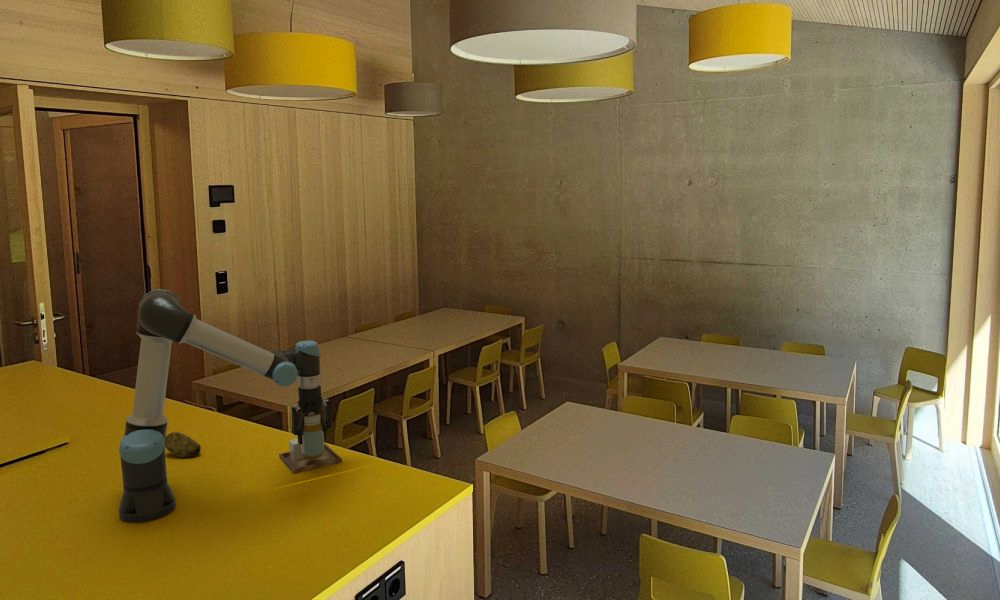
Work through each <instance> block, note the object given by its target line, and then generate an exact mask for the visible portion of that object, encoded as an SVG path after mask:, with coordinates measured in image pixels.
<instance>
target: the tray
mask: <svg viewBox="0 0 1000 600" xmlns="http://www.w3.org/2000/svg"><path fill="white" fill-rule="evenodd" d="M278 455H279V456H278V457H279V459H280V461H281V462H282V463H283V464H284V465H285V467H286V468H288V470H290V472H291V473H292V474H293V475H294V474H297V473H298V474H299V473H302V472H306V471H310V470H311V471H312V470H315V469H319V468H322V467H328V466H332V465H336V464H341V463H342V462H343V458H342V457H340V455H338V454H337V452H335V451H334V450H333V449H332V448H331V447H330V446H329V445H327V444H326V443H324V450H323V454H322V456H320V457H318V458H315V459H307V458H305V459H300V460H296V461H294V460H293V459H292V458H291V457H290V452H289V451H287V452H282V453H278Z"/></svg>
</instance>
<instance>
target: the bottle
mask: <svg viewBox="0 0 1000 600" xmlns="http://www.w3.org/2000/svg"><path fill="white" fill-rule="evenodd" d="M304 423H305V424H304V425H305V426H304V429H303V436H304V448H305V454H303V453H302V454H303V456H304V457H305V458H307V459H315V458H318V457H320V456H322V454H323V435H322V425H321V423H320V414H318V415H317V414H316V413H315V412H314V413H313V412H312V413H309V414H308V416H307V417H304Z"/></svg>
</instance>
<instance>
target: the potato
mask: <svg viewBox="0 0 1000 600" xmlns="http://www.w3.org/2000/svg"><path fill="white" fill-rule="evenodd" d="M165 449H166V450H167V451H168V452H170V453H172V454H174V455H175V456H176V457H177V458H190V457H195V456H197V455H198V454H200V453H201V445H200V443H198V441H196V440H194V439H193V438H191V437H190V436H189V435H186V434H184V433H183V432H178V431H173V432H170V433H168V434H166V440H165Z"/></svg>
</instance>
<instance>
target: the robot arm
mask: <svg viewBox="0 0 1000 600" xmlns="http://www.w3.org/2000/svg"><path fill="white" fill-rule="evenodd" d="M135 333H136V334H137V335H138V336H139V338H140V345H139V355H138V362H137V372H136V378H135V379H136V380H135V381H136V382H135V386H134V387H135V388H134V389H135V390H134V396H133V397H134V398H133V405H132V413H131V414H129V416H126V418H125V427H124V435H123V437H122V438H121V440H120V442H119V447H118V453H119V457H120V465H121V475H122V486H123V487H122V488H123V491H122V494H121V500H120V502H119V506H118V517H119V519H120V520H121V521H123V522H128V523H144V522H145V523H146V522H150V521H154V520H158V519H161V518H163V517H165V516H167V515H168V514H169V515H170V513H172V512H173V511H174V510H175V509H176V507H177V503H176V498H175V494H174V492H173V490H172V489H171V487H170V485H169V482H168V475H167V474H168V473H167V461H166V447H165V440H166V436H167V429H168V422H169V421H168V417H167V416H165V415H164V411H165V401H166V395H167V393H166V392H167V384H168V377H169V369H170V361H171V352H172V351H171V350H172V344H173V342H174V343H175V344H176V343H177V344H179V345H180V344H182V343H185V344H188V345H190V346H192V347H195V348H197V349H199V350H202V351H204V352H206V353H208V354H211V355H214V356H215V357H218V358H220V359H223V360H225V361H227V362H230V363H232V364H234V365H237V366H240V367H242V368H245V369H246V370H249V371H251V372H253V373H255V374H258V375H260V376H263V377H265V378H267V379H269V380H271V381H273V382H274V383H275V384H276V385H278V386H280V387H289V386H291V385H293V384H294V383H295V382H296V380H297V386H298V388H297V389H298V392H297V394H298V401H297V404H295V405H290V406H289V409H290V411H291V433H292V434H293V435H294V436H297V438H298V443H299V444H300V445H301V452H302V453H303V454H305V448H304V436H303V429H304V426H305V425H304V424H305V423H304V417H307V416H308V414H309V413H312V412H313V413H314V412H315V413H316V414H317V415H318V414H320V423H321V425H322V435H323V450H324V444H325V440H326V439H327V431H328V429H331V428H332V421H331V410H330V409H331V407H330V406H331V401H330V400H329V399H328V398H325V399H324V398H323V397H322V386H321V383H322V382H321V381H322V380H321V363H320V362H321V359H320V357H321V355H320V346H319V343H318V342H317V341H315V340H301V341H298V342H297V343H295V348H292V349H283V350H282V349H281V350H269V351H268V350H266V349H264V348H262V347H260V346H257V345H255V344H252V343H251V342H249V341H246V340H243V339H242V338H240V337H237V336H235V335H233V334H231V333H229V332H226V331H223V330H222V329H219V328H217V327H215V326H213V325H210V324H208V323H206V322H204V321H201V320H200V319H198V318H197V316H196V314H194V313H192V312H190V311H189V310H187V309H185V308H184V307H182V303H181V300H180V299H179V297H178V296H177V295H176V294H175V293H173V292H172V291H169V290H166V289H154V290H151V291H149V292H147V293H146V294H144V295H143V296H142V297H141V299H140V300H139V303H138V311H137V324H136V332H135ZM322 405H323V415H324V419H323V417H322V414H321V410H320V408H321V406H322ZM299 409H300V410H301V412H300V413H301V414H300V418H299V422H298V411H299Z"/></svg>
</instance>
